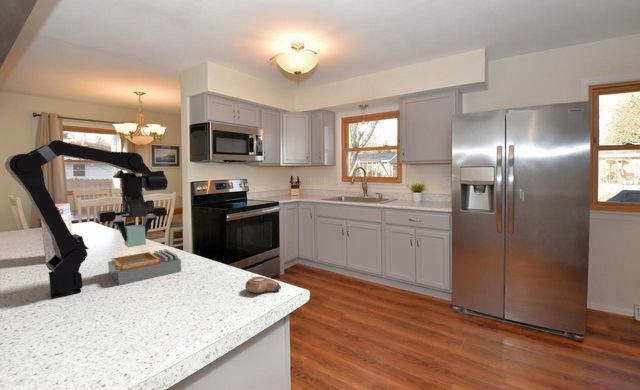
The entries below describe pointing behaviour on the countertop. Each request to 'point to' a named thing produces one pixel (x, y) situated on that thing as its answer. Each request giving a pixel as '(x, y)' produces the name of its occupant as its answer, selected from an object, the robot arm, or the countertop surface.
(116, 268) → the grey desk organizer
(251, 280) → the brown rounded lump
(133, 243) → the mint green box
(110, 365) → the countertop surface
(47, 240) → the cracker box
